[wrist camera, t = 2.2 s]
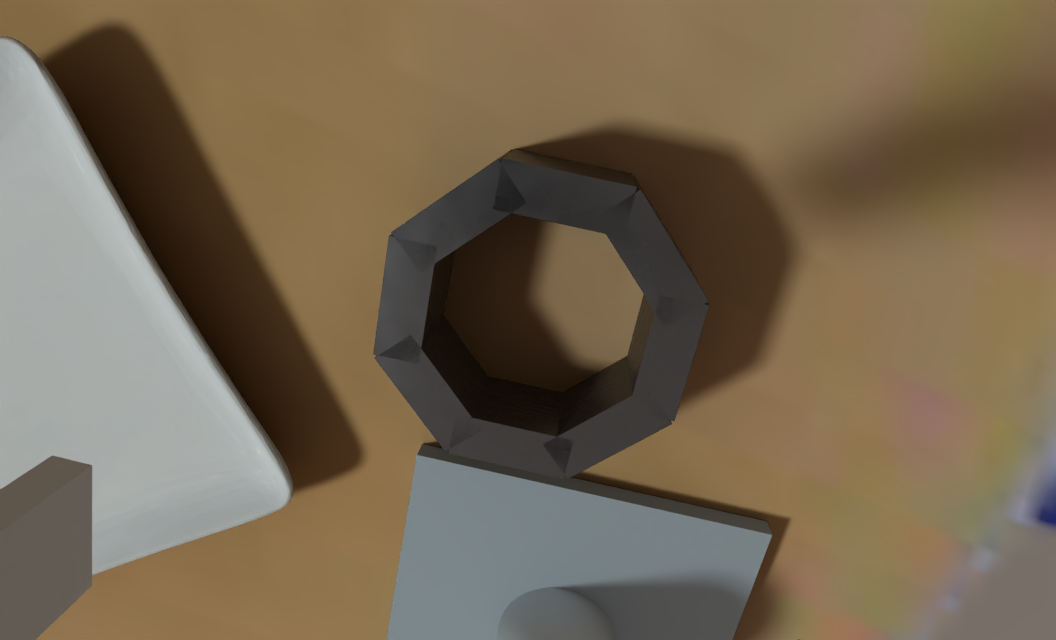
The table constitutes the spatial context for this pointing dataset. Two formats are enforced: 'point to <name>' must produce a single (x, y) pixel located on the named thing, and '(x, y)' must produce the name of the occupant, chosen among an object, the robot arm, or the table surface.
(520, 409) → the ring
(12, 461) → the salad plate
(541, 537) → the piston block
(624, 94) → the table surface
